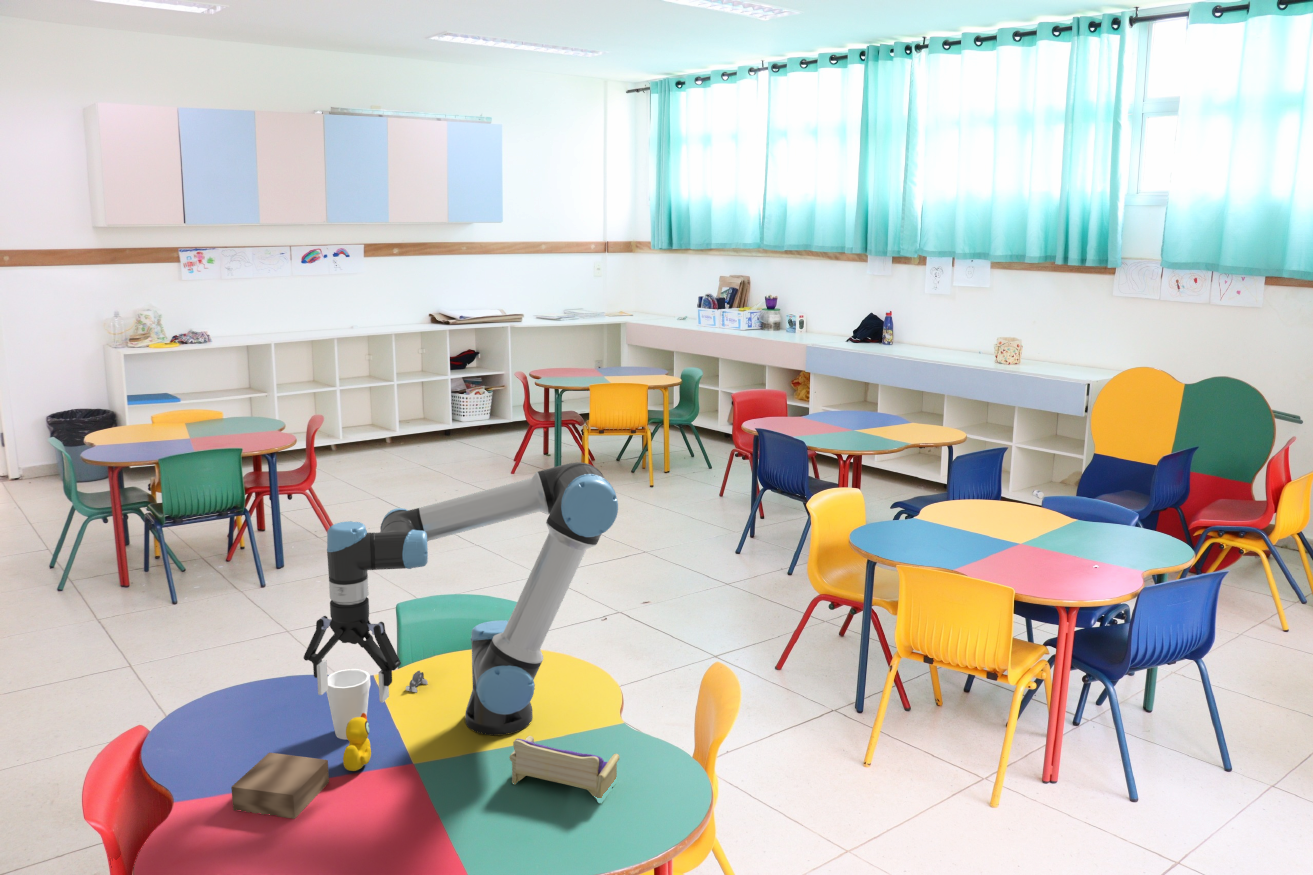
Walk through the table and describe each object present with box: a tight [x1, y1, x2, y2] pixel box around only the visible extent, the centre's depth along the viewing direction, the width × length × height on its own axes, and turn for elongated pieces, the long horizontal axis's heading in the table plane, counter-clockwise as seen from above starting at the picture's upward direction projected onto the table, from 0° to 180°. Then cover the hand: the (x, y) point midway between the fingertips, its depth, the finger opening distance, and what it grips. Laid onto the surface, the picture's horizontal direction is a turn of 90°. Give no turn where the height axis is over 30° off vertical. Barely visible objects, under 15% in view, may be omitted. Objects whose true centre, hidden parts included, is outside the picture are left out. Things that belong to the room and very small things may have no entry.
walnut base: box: [231, 752, 330, 820], centre depth 202 cm, size 13×13×5 cm
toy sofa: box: [508, 735, 621, 798], centre depth 207 cm, size 21×9×10 cm, turn 70°
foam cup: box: [325, 668, 371, 741], centre depth 225 cm, size 10×9×13 cm
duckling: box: [342, 713, 372, 772], centre depth 213 cm, size 11×5×10 cm, turn 179°
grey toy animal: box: [405, 670, 429, 693], centre depth 252 cm, size 15×7×4 cm, turn 160°
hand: (353, 695), depth 210 cm, fingers open, 13 cm apart
